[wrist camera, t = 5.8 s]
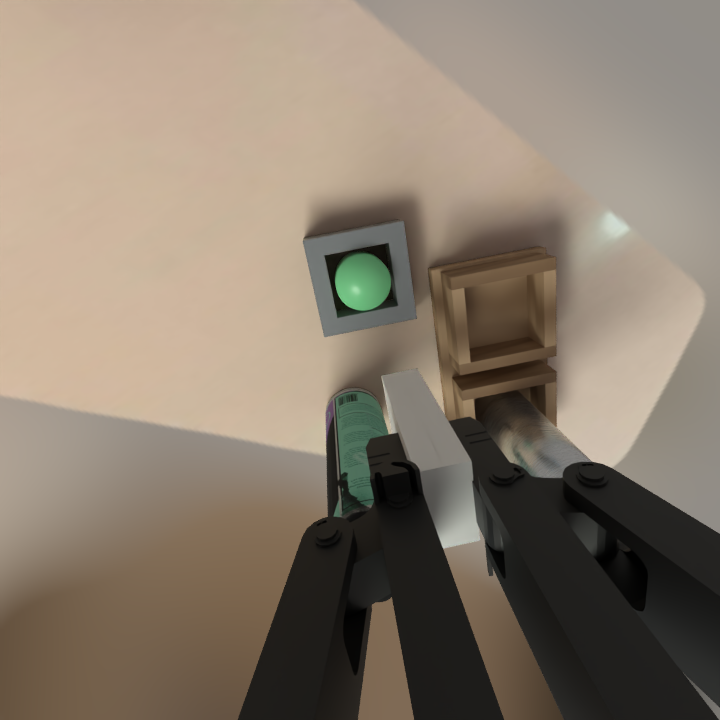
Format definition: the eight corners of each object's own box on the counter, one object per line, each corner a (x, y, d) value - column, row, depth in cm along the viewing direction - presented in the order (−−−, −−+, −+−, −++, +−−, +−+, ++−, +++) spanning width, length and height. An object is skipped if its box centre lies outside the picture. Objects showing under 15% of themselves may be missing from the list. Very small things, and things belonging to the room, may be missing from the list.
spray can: (314, 416, 40) (308, 601, 22) (350, 376, 39) (377, 535, 21) (356, 446, 42) (384, 641, 23) (392, 408, 41) (452, 582, 22)
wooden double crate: (427, 268, 36) (440, 276, 32) (539, 246, 36) (565, 251, 32) (449, 449, 43) (461, 473, 39) (542, 429, 43) (564, 452, 39)
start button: (329, 256, 35) (330, 261, 32) (381, 246, 35) (386, 250, 32) (340, 306, 36) (341, 315, 33) (388, 296, 36) (394, 304, 33)
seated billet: (471, 390, 39) (562, 504, 25) (522, 379, 39) (643, 487, 25) (475, 434, 41) (562, 565, 26) (523, 424, 41) (637, 549, 26)
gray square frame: (304, 238, 34) (302, 240, 32) (398, 219, 34) (403, 220, 32) (324, 328, 37) (324, 337, 35) (410, 311, 37) (416, 318, 35)
